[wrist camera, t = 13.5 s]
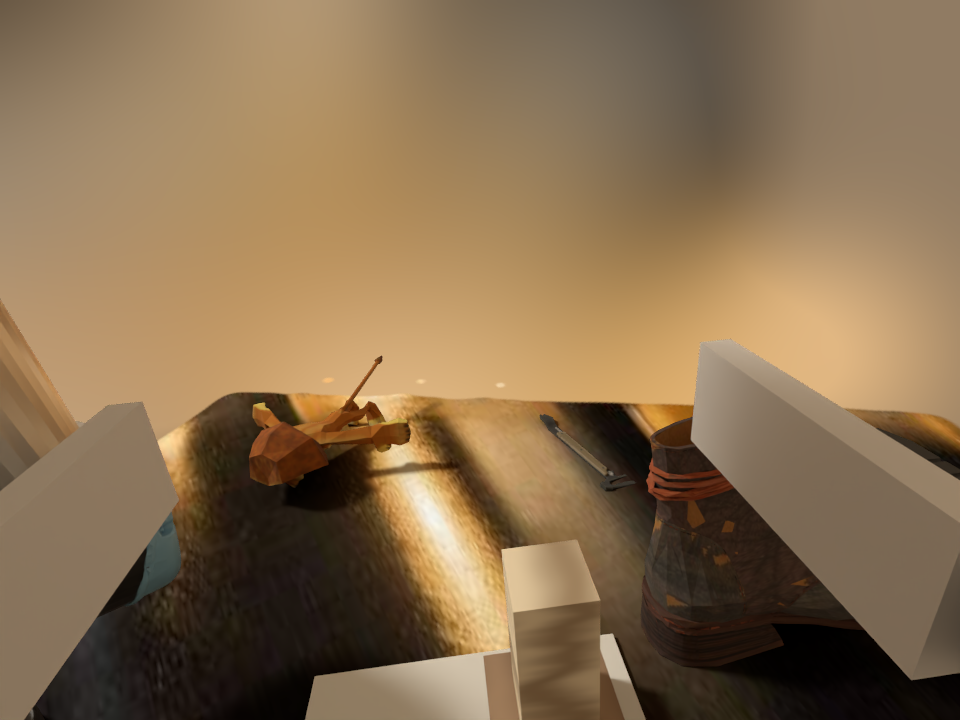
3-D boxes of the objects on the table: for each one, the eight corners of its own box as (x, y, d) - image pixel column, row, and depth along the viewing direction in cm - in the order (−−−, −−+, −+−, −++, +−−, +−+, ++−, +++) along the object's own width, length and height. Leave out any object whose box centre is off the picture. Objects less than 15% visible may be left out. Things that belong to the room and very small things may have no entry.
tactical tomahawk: (650, 485, 66) (651, 478, 66) (606, 496, 64) (607, 488, 63) (570, 415, 84) (571, 409, 84) (534, 421, 82) (534, 415, 82)
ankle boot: (980, 588, 47) (1052, 390, 39) (696, 711, 39) (720, 492, 31) (858, 513, 57) (898, 345, 49) (615, 598, 49) (618, 414, 41)
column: (524, 749, 33) (513, 612, 29) (512, 677, 38) (501, 549, 33) (599, 737, 33) (600, 600, 29) (579, 667, 38) (576, 539, 34)
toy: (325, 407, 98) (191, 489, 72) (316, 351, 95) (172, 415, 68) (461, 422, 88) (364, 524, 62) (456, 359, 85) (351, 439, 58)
